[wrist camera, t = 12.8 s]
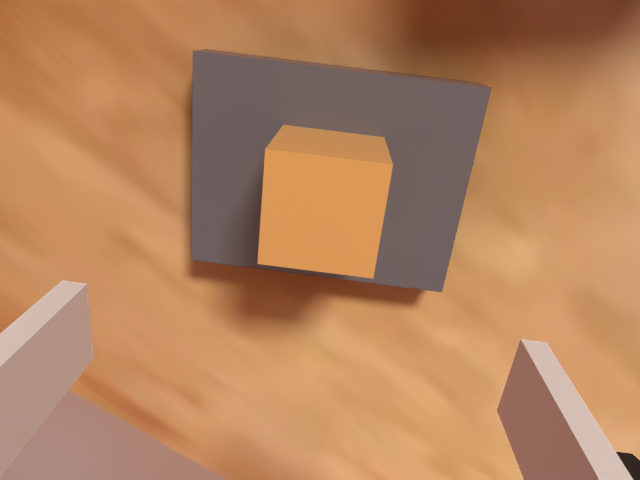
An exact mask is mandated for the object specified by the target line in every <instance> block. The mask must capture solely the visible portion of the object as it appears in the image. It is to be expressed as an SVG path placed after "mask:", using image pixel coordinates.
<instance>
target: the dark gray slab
mask: <svg viewBox="0 0 640 480" xmlns="http://www.w3.org/2000/svg"><path fill="white" fill-rule="evenodd" d="M490 91H491V88H490V87H488V86H485V85H482V84H480V83H473V82H465V81H457V80H449V79H441V78H433V77H425V76H417V75H409V74H401V73H393V72H384V71H376V70H368V69H360V68H352V67H344V66H336V65H328V64H320V63H312V62H304V61H296V60H288V59H280V58H272V57H264V56H256V55H248V54H240V53H232V52H224V51H216V50H208V49H206V50H196V51H193V98H192V201H191V260H196V261H204V262H211V263H219V264H227V265H235V266H243V267H250V268H258V269H266V270H274V271H281V272H289V273H297V274H305V275H312V276H320V277H328V278H336V279H343V280H351V281H359V282H367V283H375V284H382V285H390V286H398V287H406V288H413V289H421V290H429V291H437V292H442V289H443V285H444V281H445V277H446V273H447V269H448V265H449V260H450V256H451V252H452V248H453V244H454V240H455V236H456V232H457V227H458V223H459V219H460V215H461V211H462V207H463V203H464V199H465V194H466V190H467V186H468V182H469V178H470V174H471V170H472V166H473V161H474V157H475V153H476V149H477V145H478V141H479V137H480V133H481V128H482V124H483V120H484V116H485V112H486V108H487V104H488V100H489V95H490ZM283 125H289V126H297V127H306V128H314V129H322V130H330V131H338V132H346V133H354V134H362V135H370V136H379V137H384V138H385V141H386V144H387V147H388V150H389V153H390V156H391V160H392V163H393V168H392V174H391V180H390V186H389V191H388V197H387V203H386V209H385V214H384V220H383V226H382V232H381V237H380V243H379V249H378V255H377V260H376V266H375V272H374V278H365V277H357V276H349V275H341V274H333V273H325V272H317V271H309V270H302V269H294V268H286V267H278V266H270V265H262V264H258V249H259V234H260V219H261V204H262V189H263V174H264V159H265V148H266V147H267V146H268V144H269V143H270V142H271V140H272V139H273V138H274V136H275V135H276V134H277V132H278V131H279V130H280V128H281V127H282V126H283Z"/></svg>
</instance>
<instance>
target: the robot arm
mask: <svg viewBox="0 0 640 480" xmlns="http://www.w3.org/2000/svg"><path fill="white" fill-rule="evenodd" d="M93 359H94V355H93V344H92V332H91V321H90V309H89V298H88V286H87V283H79V282H71V281H63V280H62V281H61V282H60V283H59V284H57V285H56V286H55V287H54V288H53V289H52V290H50V291H49V292H48V293H47V294H46V295H45V296H43V297H42V298H41V299H40V300H39V301H38V302H36V303H35V304H34V305H33V306H32V307H31V308H29V309H28V310H27V311H26V312H25V313H24V314H22V315H21V316H20V317H19V318H18V319H17V320H16V321H14V322H13V323H12V324H11V325H10V326H9V327H7V328H6V329H5V330H4V331H3V332H2V333H0V477H1V475H2V474H3V473H4V472H5V470H6V469H7V468H8V466H9V465H10V464H11V463H12V461H13V460H14V459H15V458H16V456H17V455H18V454H19V453H20V451H21V450H22V449H23V447H24V446H25V445H26V444H27V442H28V441H29V440H30V438H31V437H32V436H33V435H34V433H35V432H36V431H37V430H38V428H39V427H40V426H41V424H42V423H43V422H44V421H45V420H46V418H47V417H48V415H49V414H50V413H51V412H52V410H53V409H54V408H55V407H56V406H57V404H58V403H59V402H60V400H61V399H62V398H63V397H64V395H65V394H66V393H67V391H68V390H69V389H70V388H71V387H72V385H73V384H74V383H75V381H76V380H77V379H78V378H79V376H80V375H81V374H82V373H83V371H84V370H85V369H86V367H87V366H88V365H89V364H90V362H91V361H92V360H93ZM497 411H498V414H499V416H500V419H501V421H502V424H503V427H504V429H505V432H506V434H507V437H508V439H509V442H510V445H511V447H512V450H513V452H514V455H515V457H516V460H517V462H518V465H519V468H520V470H521V473H522V475H523V478H524V480H640V460H638V459H637V458H636V457H635V456H634V455H633V454H629V453H621V452H615V450H614V448H613V447H612V445H611V444H610V442H609V440H608V439H607V437H606V436H605V434H604V433H603V431H602V429H601V428H600V426H599V425H598V423H597V422H596V420H595V418H594V417H593V415H592V414H591V412H590V411H589V409H588V407H587V406H586V404H585V403H584V401H583V399H582V398H581V396H580V395H579V393H578V392H577V390H576V388H575V387H574V385H573V384H572V382H571V381H570V379H569V377H568V376H567V374H566V373H565V371H564V370H563V368H562V366H561V365H560V363H559V362H558V360H557V358H556V357H555V355H554V354H553V352H552V351H551V349H550V347H549V346H548V344H547V343H546V342H540V341H532V340H524V339H521V340H520V343H519V346H518V349H517V352H516V355H515V358H514V361H513V364H512V367H511V370H510V373H509V376H508V379H507V382H506V385H505V388H504V391H503V394H502V397H501V400H500V403H499V406H498V409H497Z"/></svg>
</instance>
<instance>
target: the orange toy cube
mask: <svg viewBox="0 0 640 480" xmlns="http://www.w3.org/2000/svg"><path fill="white" fill-rule="evenodd" d="M392 168H393V163H392V160H391V156H390V153H389V150H388V147H387V144H386V141H385V138H384V137H379V136H370V135H362V134H354V133H346V132H338V131H330V130H322V129H314V128H306V127H297V126H289V125H283V126H282V127H281V128H280V130H279V131H278V132H277V134H276V135H275V136H274V138H273V139H272V140H271V142H270V143H269V144H268V146H267V147H266V148H265V159H264V174H263V189H262V204H261V219H260V234H259V249H258V264H262V265H270V266H278V267H286V268H294V269H302V270H309V271H317V272H325V273H333V274H341V275H349V276H357V277H365V278H374V272H375V266H376V260H377V255H378V249H379V243H380V237H381V232H382V226H383V220H384V214H385V209H386V203H387V197H388V191H389V186H390V180H391V174H392Z"/></svg>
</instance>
